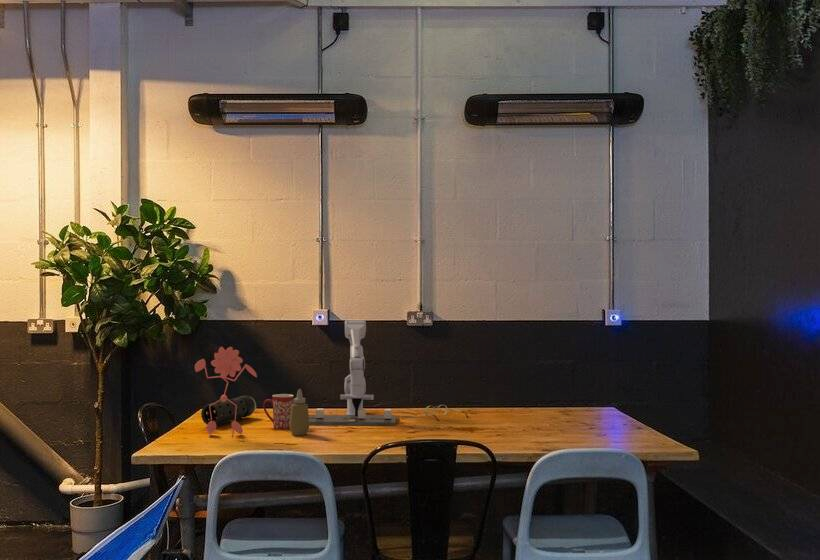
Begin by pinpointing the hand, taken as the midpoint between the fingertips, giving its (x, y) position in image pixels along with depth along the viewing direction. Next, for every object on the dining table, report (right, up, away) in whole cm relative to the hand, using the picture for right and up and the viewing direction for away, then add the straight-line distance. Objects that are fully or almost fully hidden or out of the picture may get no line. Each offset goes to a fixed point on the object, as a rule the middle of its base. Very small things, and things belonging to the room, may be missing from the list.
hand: (356, 415), depth 310 cm
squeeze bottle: (-21, -2, -29) cm, 36 cm away
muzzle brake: (-55, -3, -1) cm, 56 cm away
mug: (-32, -2, -14) cm, 35 cm away
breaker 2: (+14, -1, -1) cm, 14 cm away
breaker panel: (-3, -3, 0) cm, 4 cm away
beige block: (-16, -1, +1) cm, 16 cm away
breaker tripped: (+2, -1, 0) cm, 2 cm away
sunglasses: (+39, -4, +12) cm, 41 cm away
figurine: (-50, -2, -29) cm, 58 cm away
